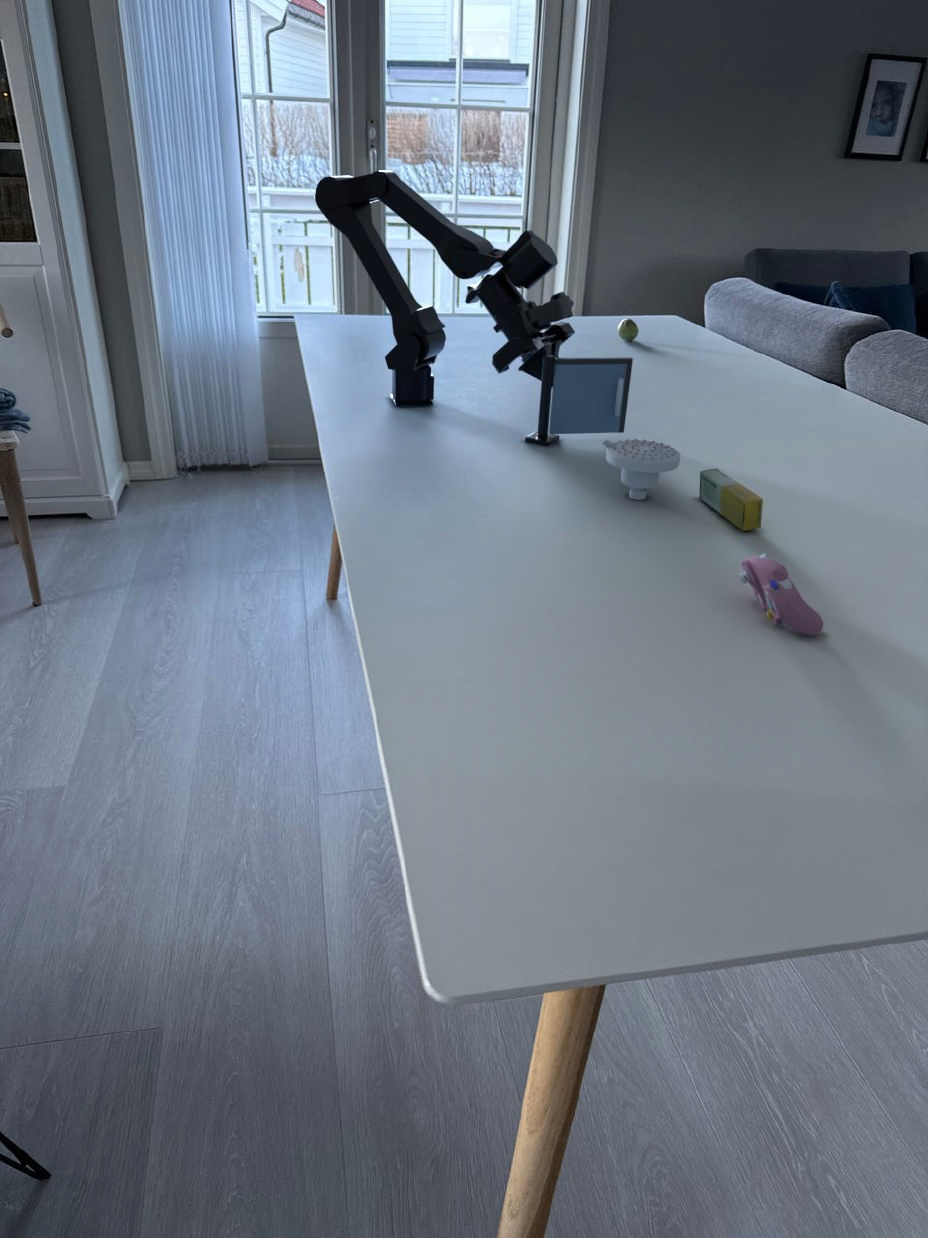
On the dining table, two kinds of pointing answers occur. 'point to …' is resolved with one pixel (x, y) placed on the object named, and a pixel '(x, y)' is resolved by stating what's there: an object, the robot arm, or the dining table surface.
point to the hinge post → (544, 407)
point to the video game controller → (780, 595)
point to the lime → (628, 330)
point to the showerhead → (641, 463)
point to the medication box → (731, 499)
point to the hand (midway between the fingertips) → (564, 390)
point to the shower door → (590, 395)
